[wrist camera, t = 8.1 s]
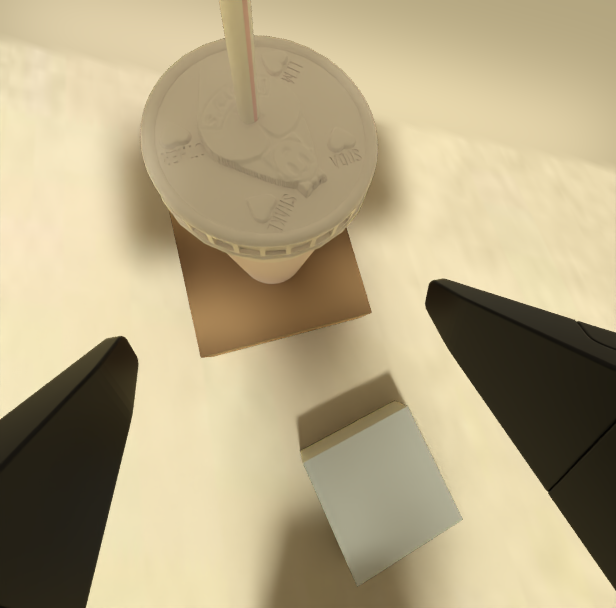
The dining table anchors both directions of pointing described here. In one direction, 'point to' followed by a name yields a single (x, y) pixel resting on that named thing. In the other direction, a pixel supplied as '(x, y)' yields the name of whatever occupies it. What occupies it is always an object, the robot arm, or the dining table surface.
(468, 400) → the dining table surface
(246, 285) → the walnut block
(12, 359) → the dining table surface
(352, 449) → the grey tile
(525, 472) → the dining table surface
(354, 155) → the smoothie
